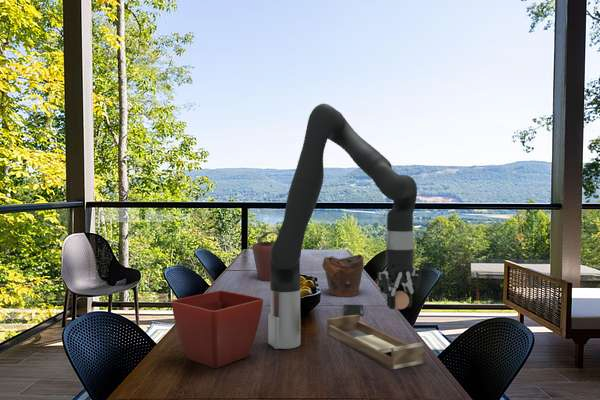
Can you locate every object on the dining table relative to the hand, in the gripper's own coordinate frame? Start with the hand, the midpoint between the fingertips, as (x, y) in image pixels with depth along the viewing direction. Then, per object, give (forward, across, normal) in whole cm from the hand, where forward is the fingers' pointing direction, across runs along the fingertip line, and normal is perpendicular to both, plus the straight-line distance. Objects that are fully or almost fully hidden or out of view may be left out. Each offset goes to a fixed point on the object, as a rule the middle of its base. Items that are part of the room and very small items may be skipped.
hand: (399, 307), depth 134 cm
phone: (+16, -17, -52) cm, 57 cm away
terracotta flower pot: (+16, -29, -80) cm, 87 cm away
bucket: (+15, -15, -127) cm, 129 cm away
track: (+15, 0, -13) cm, 20 cm away
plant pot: (+15, +45, -25) cm, 54 cm away
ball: (-2, 0, 0) cm, 2 cm away
